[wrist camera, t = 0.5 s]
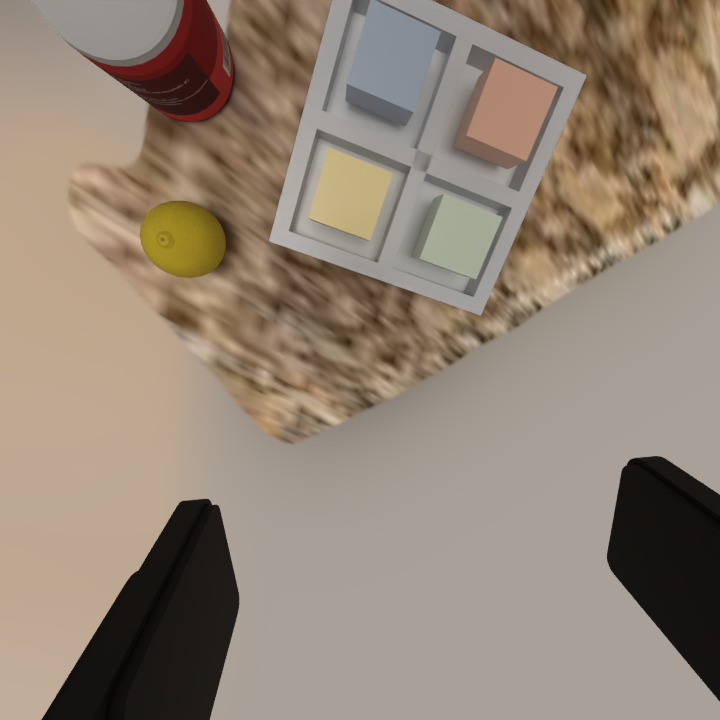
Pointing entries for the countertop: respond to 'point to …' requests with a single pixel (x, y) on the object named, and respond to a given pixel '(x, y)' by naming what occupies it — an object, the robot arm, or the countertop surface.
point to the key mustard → (349, 195)
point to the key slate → (390, 63)
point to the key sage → (456, 236)
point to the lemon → (183, 239)
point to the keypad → (416, 152)
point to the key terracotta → (504, 115)
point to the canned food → (152, 49)
